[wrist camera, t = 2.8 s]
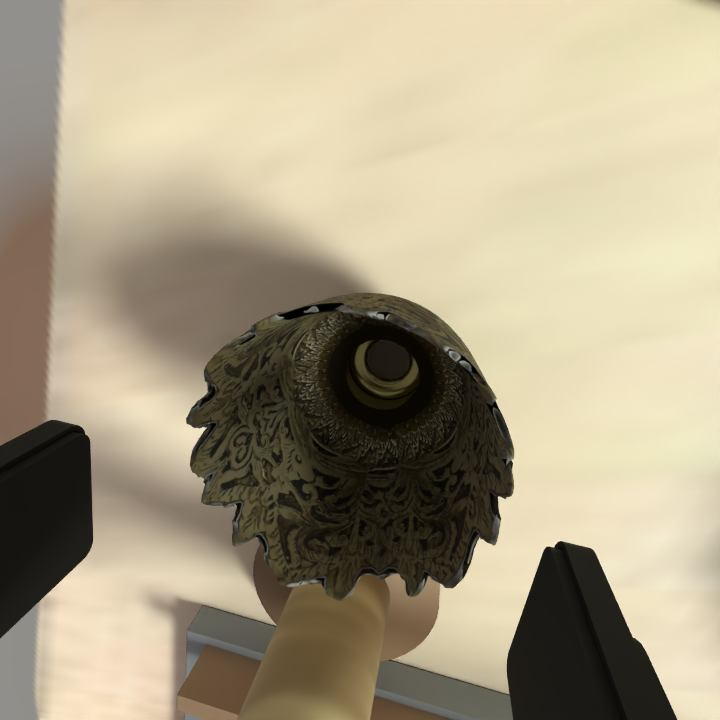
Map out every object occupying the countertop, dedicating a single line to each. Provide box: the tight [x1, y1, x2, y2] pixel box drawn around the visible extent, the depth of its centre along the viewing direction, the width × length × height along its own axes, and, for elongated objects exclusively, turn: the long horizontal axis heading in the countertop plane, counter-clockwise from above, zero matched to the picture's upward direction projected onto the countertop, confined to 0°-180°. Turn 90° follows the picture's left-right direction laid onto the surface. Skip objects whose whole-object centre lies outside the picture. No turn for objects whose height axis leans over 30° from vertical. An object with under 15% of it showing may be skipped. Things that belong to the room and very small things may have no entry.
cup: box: [186, 293, 514, 601], centre depth 14 cm, size 8×7×8 cm
